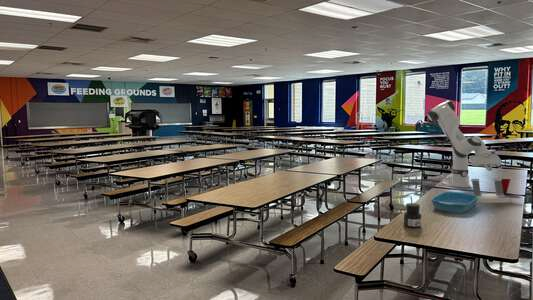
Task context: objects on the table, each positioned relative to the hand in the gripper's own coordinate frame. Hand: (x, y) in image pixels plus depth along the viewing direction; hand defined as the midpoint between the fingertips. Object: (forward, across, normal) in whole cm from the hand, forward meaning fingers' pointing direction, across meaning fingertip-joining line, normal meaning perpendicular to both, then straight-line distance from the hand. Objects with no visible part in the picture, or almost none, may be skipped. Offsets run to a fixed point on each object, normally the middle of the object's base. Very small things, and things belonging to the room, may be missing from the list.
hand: (490, 170), depth 272 cm
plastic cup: (+5, +17, +24) cm, 30 cm away
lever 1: (+19, -15, +3) cm, 24 cm away
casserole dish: (+35, -40, -7) cm, 53 cm away
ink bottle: (+62, -81, -35) cm, 108 cm away
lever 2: (+18, +1, +3) cm, 19 cm away
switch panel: (+22, -7, +6) cm, 23 cm away
